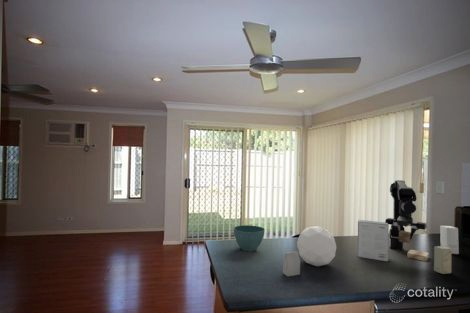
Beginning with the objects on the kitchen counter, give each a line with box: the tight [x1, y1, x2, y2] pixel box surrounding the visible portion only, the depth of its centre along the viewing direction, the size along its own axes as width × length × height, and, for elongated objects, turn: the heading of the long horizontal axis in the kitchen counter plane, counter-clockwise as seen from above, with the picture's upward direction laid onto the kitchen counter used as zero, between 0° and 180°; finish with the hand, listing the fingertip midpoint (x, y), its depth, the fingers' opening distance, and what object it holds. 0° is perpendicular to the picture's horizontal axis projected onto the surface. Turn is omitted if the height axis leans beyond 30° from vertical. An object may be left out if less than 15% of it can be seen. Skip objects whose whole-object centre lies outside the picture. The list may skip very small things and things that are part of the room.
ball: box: [296, 225, 337, 267], centre depth 144 cm, size 19×20×20 cm
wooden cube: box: [399, 230, 412, 244], centre depth 153 cm, size 5×5×5 cm
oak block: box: [406, 249, 430, 262], centre depth 160 cm, size 9×9×3 cm
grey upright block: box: [282, 250, 301, 277], centre depth 129 cm, size 4×7×10 cm, turn 115°
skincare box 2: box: [433, 245, 452, 275], centre depth 138 cm, size 6×4×12 cm
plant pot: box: [233, 224, 265, 252], centre depth 164 cm, size 18×18×12 cm
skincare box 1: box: [439, 225, 460, 255], centre depth 173 cm, size 8×7×16 cm
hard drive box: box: [357, 219, 390, 262], centre depth 157 cm, size 16×8×20 cm, turn 64°
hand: (405, 239), depth 153 cm, fingers closed on wooden cube, 5 cm apart
